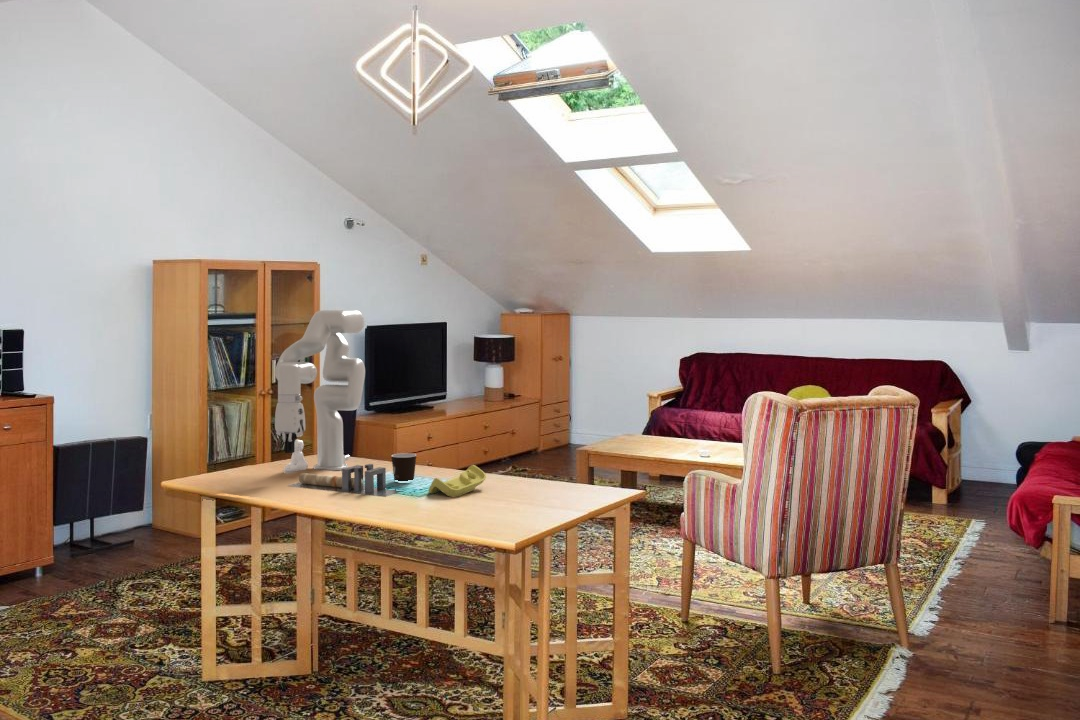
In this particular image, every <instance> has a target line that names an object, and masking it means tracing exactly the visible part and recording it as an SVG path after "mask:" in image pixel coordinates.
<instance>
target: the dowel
mask: <svg viewBox="0 0 1080 720" xmlns="http://www.w3.org/2000/svg"><path fill="white" fill-rule="evenodd" d="M298 483H302V484H311V485H320V486H330V487H339V488H342V476H337V475H325V474H317V473H307V472H302V473H300V474H299V478H298ZM363 486H364V479H363V480H362V479H361V489H362V487H363ZM351 489H354V477H351Z"/></svg>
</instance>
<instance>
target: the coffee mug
mask: <svg viewBox="0 0 1080 720" xmlns="http://www.w3.org/2000/svg"><path fill="white" fill-rule="evenodd" d="M390 459H391V464H392V471H393V481H394V480H398V481H408V480H413V479H414V480H415V471H416V463H417V462H416V461H417V454H416V453H411V452H410V453H405V452H402V453H394V454H392V455H391V458H390Z"/></svg>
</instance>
